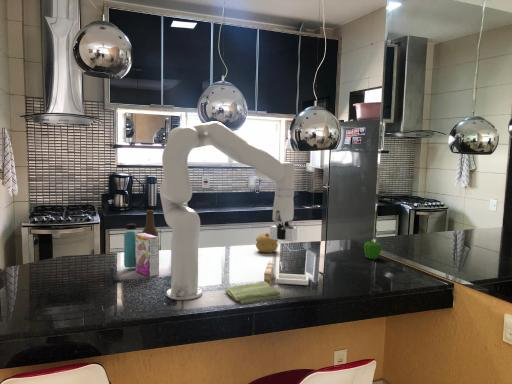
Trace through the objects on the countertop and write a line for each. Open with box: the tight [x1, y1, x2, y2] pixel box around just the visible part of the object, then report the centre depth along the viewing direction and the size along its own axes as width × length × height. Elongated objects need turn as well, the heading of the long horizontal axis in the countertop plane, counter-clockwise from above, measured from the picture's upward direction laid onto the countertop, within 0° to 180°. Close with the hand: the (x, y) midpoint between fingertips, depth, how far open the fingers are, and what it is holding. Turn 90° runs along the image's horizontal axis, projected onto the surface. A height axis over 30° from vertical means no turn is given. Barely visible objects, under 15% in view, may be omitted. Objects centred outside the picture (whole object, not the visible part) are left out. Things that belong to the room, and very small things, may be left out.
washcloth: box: [224, 280, 281, 304], centre depth 145 cm, size 13×18×3 cm
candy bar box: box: [135, 232, 160, 278], centre depth 168 cm, size 11×5×16 cm, turn 47°
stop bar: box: [269, 224, 298, 243], centre depth 161 cm, size 4×10×6 cm, turn 58°
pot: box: [255, 232, 279, 254], centre depth 213 cm, size 12×12×10 cm
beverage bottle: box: [123, 223, 140, 269], centre depth 174 cm, size 6×7×20 cm
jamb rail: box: [263, 262, 275, 286], centre depth 164 cm, size 16×2×5 cm, turn 173°
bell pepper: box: [363, 239, 382, 260], centre depth 203 cm, size 8×8×10 cm
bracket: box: [275, 273, 309, 286], centre depth 163 cm, size 8×13×2 cm, turn 83°
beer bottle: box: [141, 209, 159, 237], centre depth 189 cm, size 8×8×24 cm
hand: (283, 237), depth 162 cm, fingers closed on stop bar, 4 cm apart
